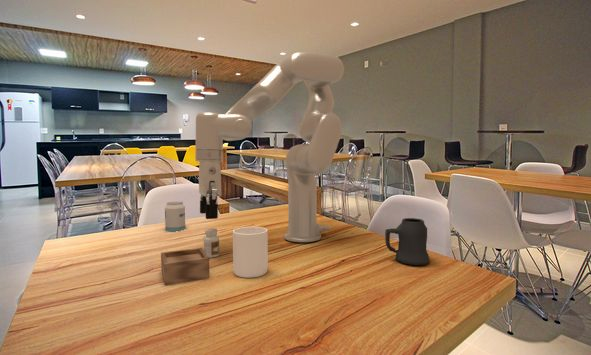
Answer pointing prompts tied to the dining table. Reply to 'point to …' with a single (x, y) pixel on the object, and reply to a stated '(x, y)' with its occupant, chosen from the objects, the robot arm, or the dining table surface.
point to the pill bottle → (211, 243)
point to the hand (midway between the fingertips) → (208, 215)
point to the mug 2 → (410, 242)
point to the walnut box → (184, 266)
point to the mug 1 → (250, 251)
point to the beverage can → (174, 216)
